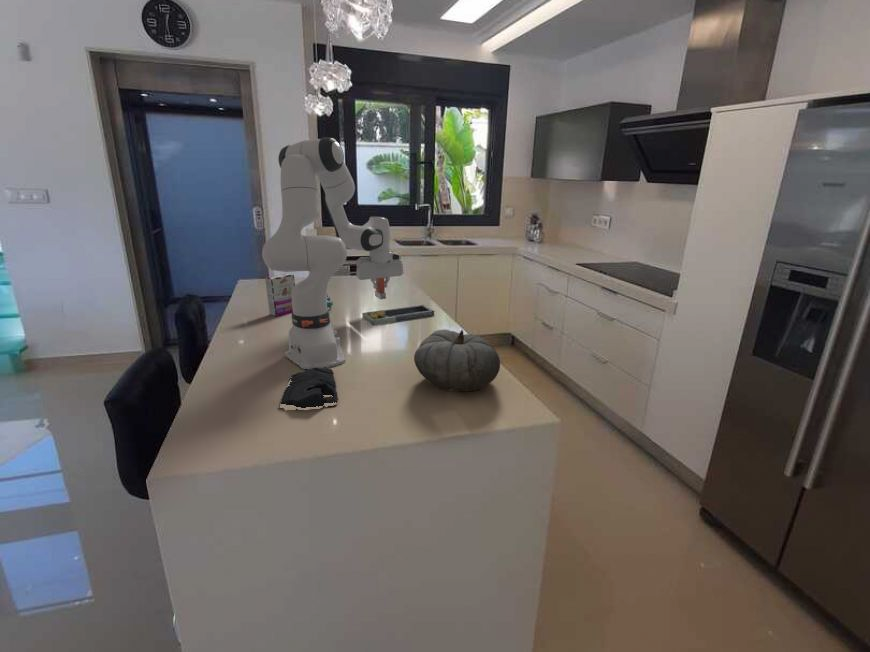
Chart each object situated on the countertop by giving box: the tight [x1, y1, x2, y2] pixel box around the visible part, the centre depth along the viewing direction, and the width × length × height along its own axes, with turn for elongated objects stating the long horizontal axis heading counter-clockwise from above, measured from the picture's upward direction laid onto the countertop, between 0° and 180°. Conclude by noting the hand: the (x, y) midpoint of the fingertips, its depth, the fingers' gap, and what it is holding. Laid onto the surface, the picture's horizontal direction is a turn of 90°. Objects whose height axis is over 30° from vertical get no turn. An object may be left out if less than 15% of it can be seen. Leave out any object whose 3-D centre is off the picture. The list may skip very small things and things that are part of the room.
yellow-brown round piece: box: [377, 309, 386, 319], centre depth 187 cm, size 4×4×4 cm
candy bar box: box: [264, 272, 296, 317], centre depth 192 cm, size 11×5×16 cm, turn 143°
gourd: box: [413, 328, 501, 392], centre depth 132 cm, size 25×25×17 cm
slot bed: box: [385, 304, 435, 322], centre depth 191 cm, size 10×18×3 cm, turn 119°
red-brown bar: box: [374, 278, 387, 300], centre depth 194 cm, size 6×3×10 cm, turn 30°
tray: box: [362, 309, 397, 326], centre depth 185 cm, size 11×10×3 cm
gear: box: [327, 294, 334, 310], centre depth 200 cm, size 11×6×10 cm
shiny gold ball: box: [370, 313, 379, 319], centre depth 184 cm, size 4×4×4 cm
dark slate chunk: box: [280, 368, 339, 408], centre depth 126 cm, size 15×22×5 cm
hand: (380, 287), depth 194 cm, fingers closed on red-brown bar, 3 cm apart
